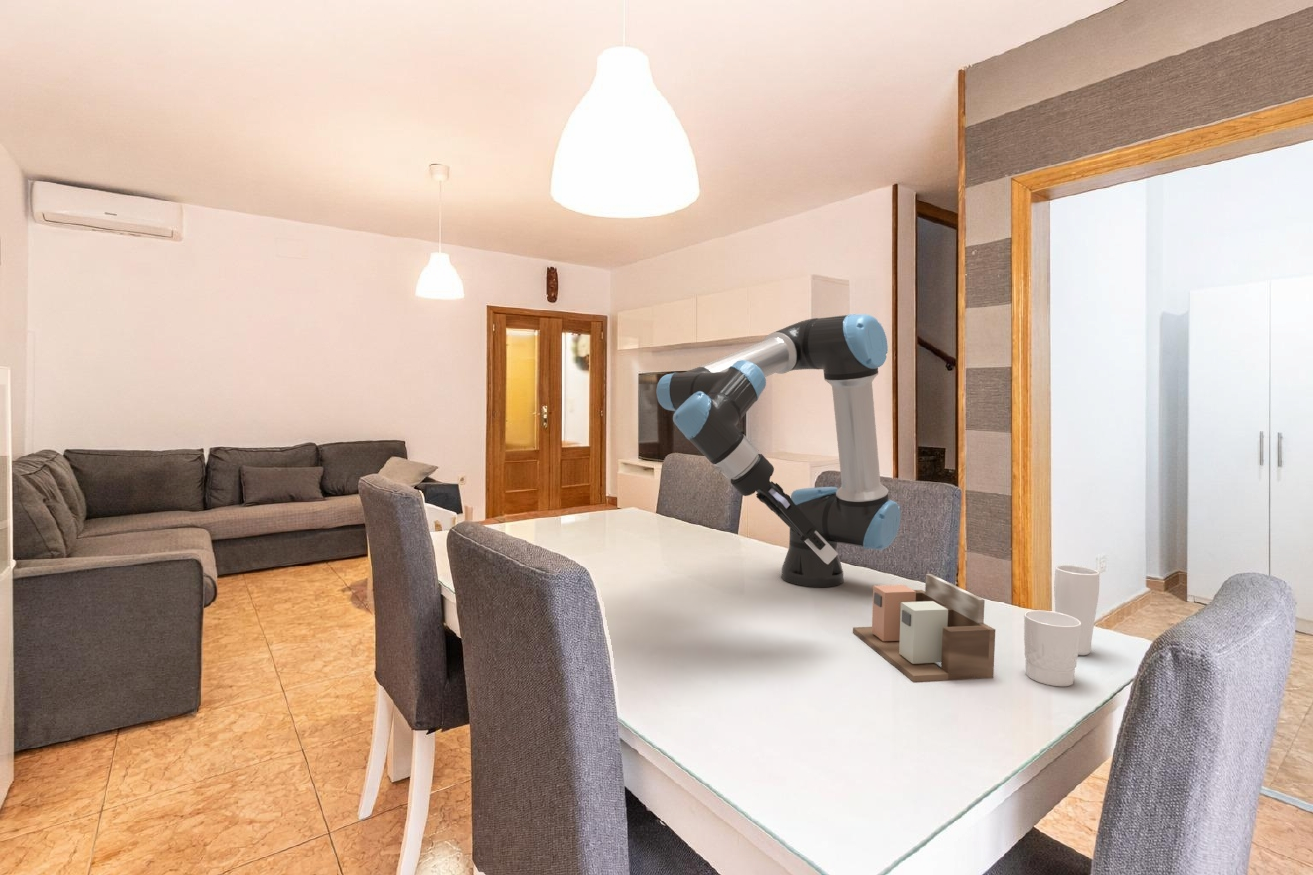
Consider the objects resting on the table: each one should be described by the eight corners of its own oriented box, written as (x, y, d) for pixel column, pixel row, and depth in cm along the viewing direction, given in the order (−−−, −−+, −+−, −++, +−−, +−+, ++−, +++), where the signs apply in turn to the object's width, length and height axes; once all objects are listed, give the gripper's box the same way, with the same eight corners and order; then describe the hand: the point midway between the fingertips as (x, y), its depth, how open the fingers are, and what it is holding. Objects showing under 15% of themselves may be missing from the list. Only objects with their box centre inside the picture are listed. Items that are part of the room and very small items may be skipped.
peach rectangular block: (870, 632, 122) (871, 585, 121) (901, 631, 122) (903, 584, 122) (881, 641, 117) (883, 592, 117) (914, 639, 118) (915, 591, 118)
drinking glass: (1056, 640, 122) (1060, 562, 121) (1099, 651, 117) (1103, 569, 116) (1046, 650, 117) (1050, 569, 116) (1090, 661, 112) (1095, 576, 111)
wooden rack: (852, 632, 125) (854, 571, 124) (920, 629, 127) (922, 569, 126) (913, 681, 103) (916, 608, 103) (993, 677, 105) (996, 605, 105)
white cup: (1086, 690, 101) (1090, 628, 100) (1031, 685, 102) (1034, 624, 102) (1065, 670, 109) (1068, 612, 108) (1014, 665, 110) (1017, 608, 110)
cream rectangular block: (897, 653, 112) (899, 602, 111) (931, 651, 113) (933, 601, 112) (911, 663, 107) (912, 610, 107) (946, 661, 108) (948, 609, 108)
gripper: (720, 477, 120) (803, 563, 123) (739, 486, 107) (831, 583, 110) (748, 449, 120) (831, 536, 124) (770, 454, 108) (862, 551, 111)
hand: (831, 558), depth 117 cm, fingers closed
